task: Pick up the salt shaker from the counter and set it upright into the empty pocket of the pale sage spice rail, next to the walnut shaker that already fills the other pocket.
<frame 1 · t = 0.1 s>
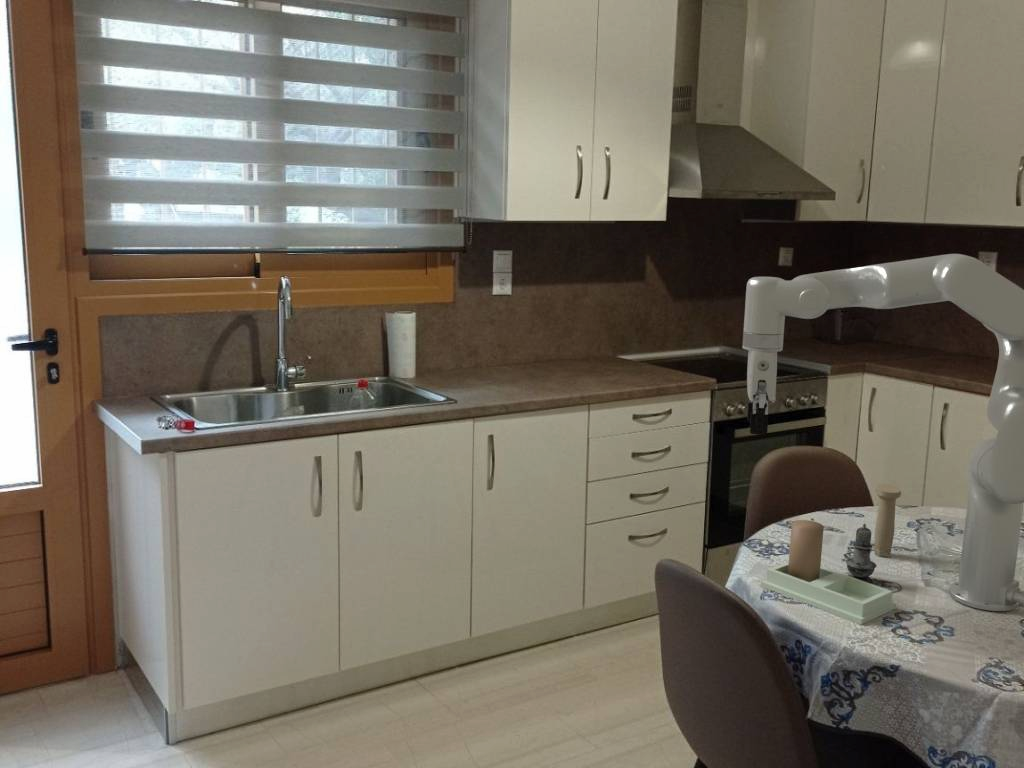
hand: (756, 428, 195), 31 cm above the table, tool pointing down, fingers open, 9 cm apart
salt shaker: (859, 581, 201), on the table
handle: (882, 555, 215), on the table
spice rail: (826, 597, 192), on the table
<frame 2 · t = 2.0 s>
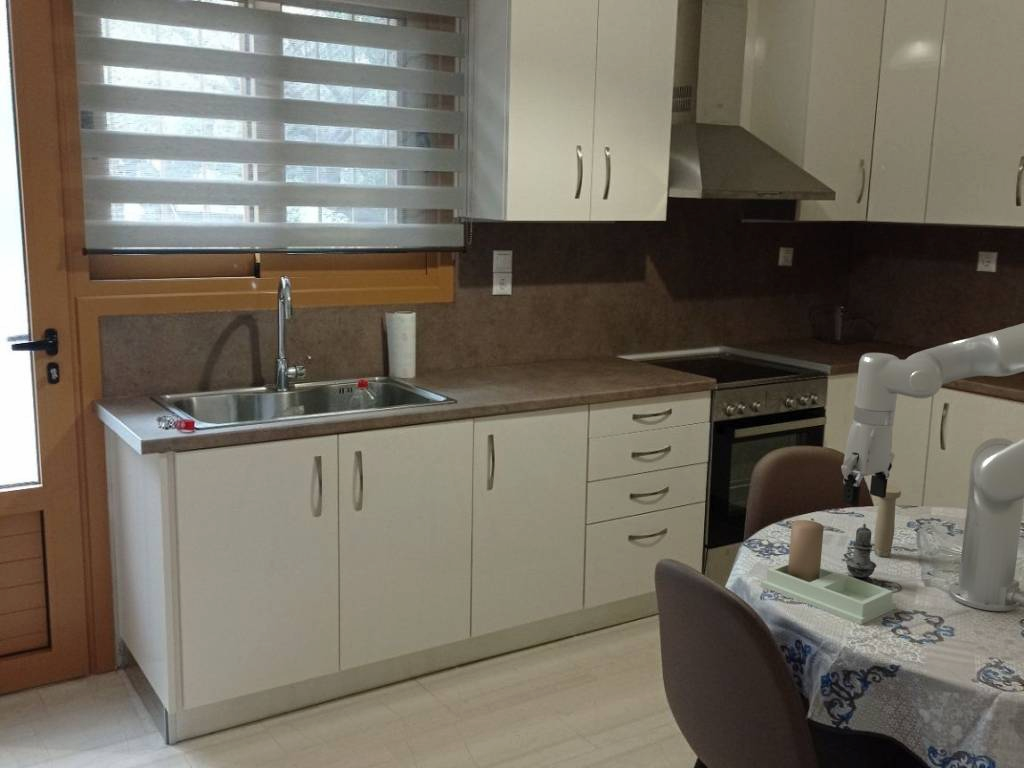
hand: (864, 500, 198), 17 cm above the table, tool pointing down, fingers open, 9 cm apart
nothing on the table moved.
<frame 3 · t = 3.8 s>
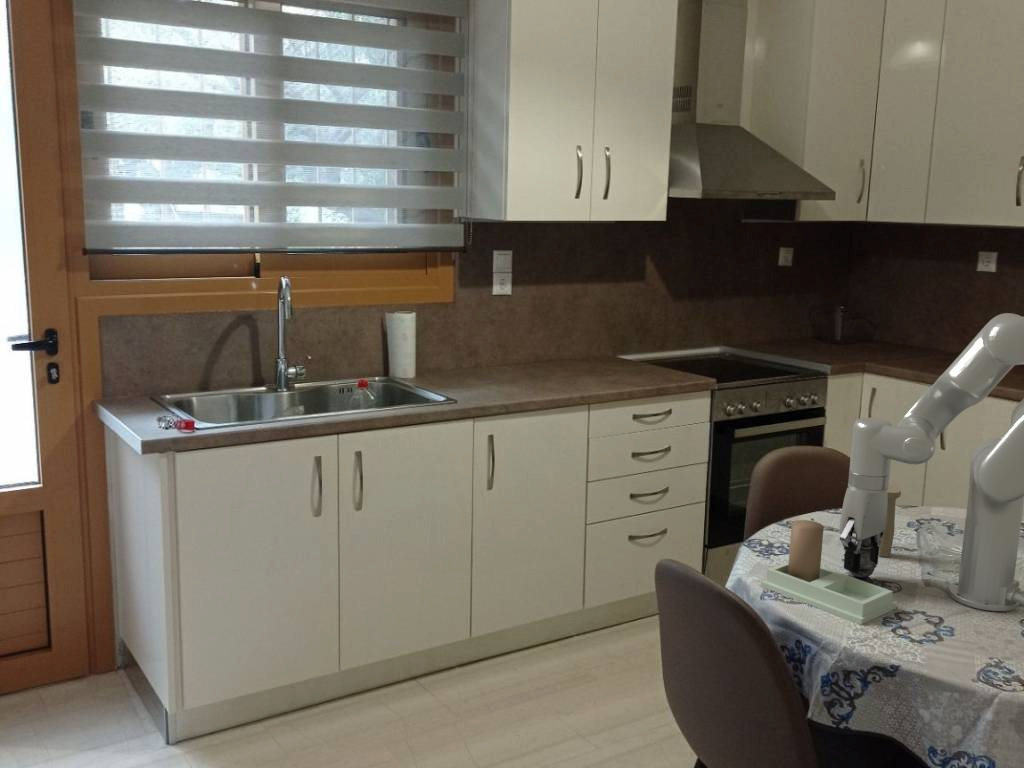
hand: (860, 566, 200), 3 cm above the table, tool pointing down, fingers closed on salt shaker, 5 cm apart
salt shaker: (859, 581, 201), on the table, touching gripper
everything else where it was.
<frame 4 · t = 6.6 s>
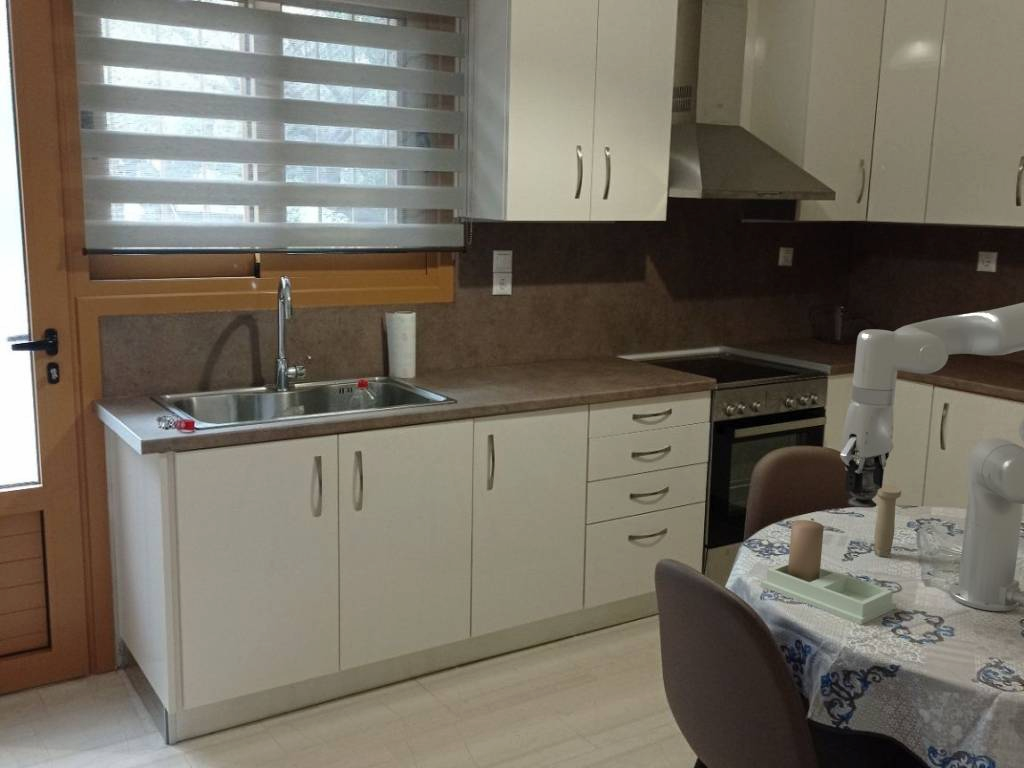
hand: (863, 488, 189), 22 cm above the table, tool pointing down, fingers closed on salt shaker, 5 cm apart
salt shaker: (861, 504, 189), point 18 cm above the table, touching gripper
everything else where it was.
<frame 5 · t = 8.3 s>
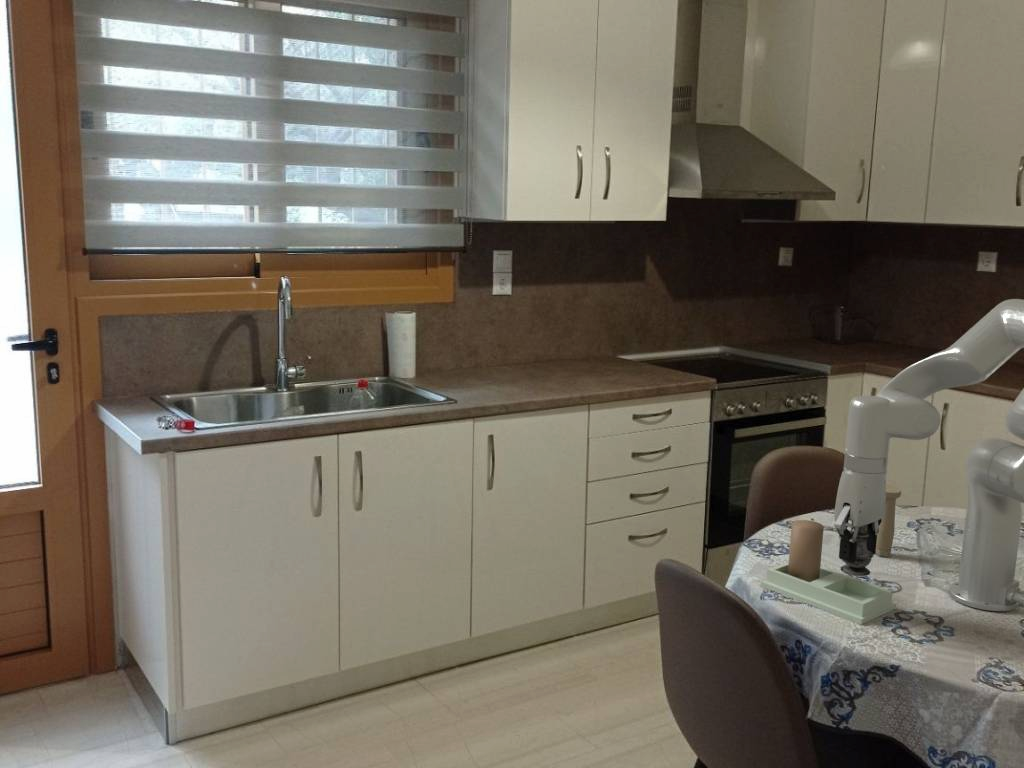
hand: (857, 555, 186), 10 cm above the table, tool pointing down, fingers closed on salt shaker, 5 cm apart
salt shaker: (855, 571, 187), point 7 cm above the table, touching gripper
everything else where it was.
when the fingers open (5 cm above the table, at t = 9.7 s): salt shaker drops 1 cm, resting on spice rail.
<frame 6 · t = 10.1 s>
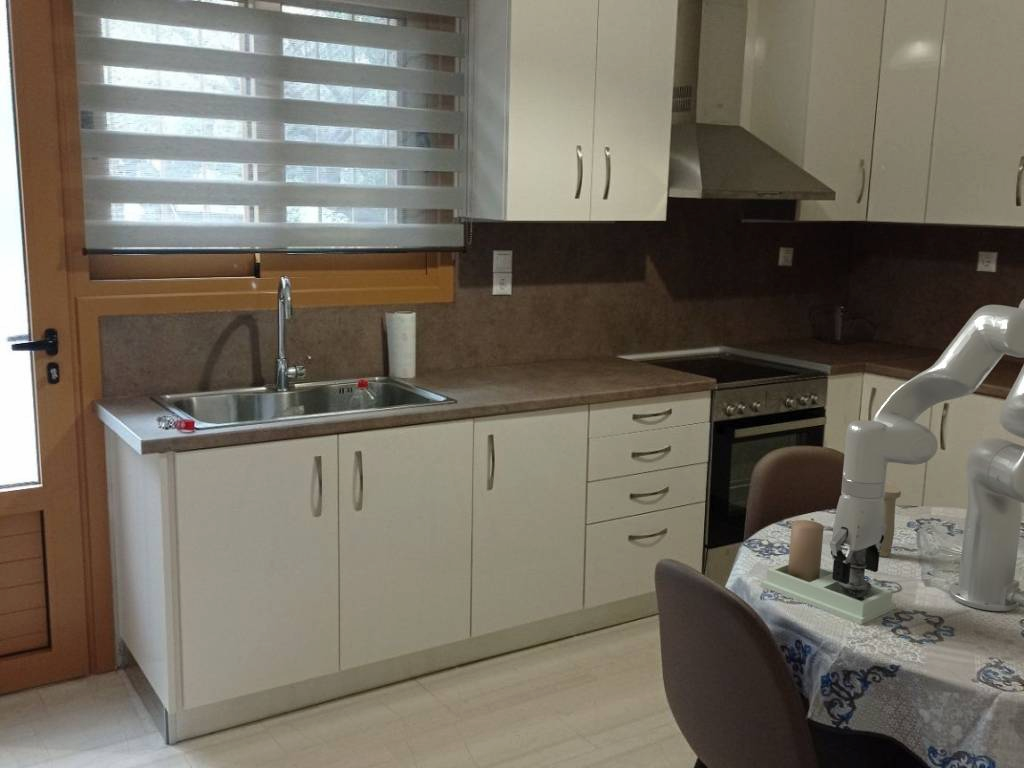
hand: (855, 575, 187), 6 cm above the table, tool pointing down, fingers open, 9 cm apart
salt shaker: (853, 602, 188), point 1 cm above the table, touching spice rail
everything else where it was.
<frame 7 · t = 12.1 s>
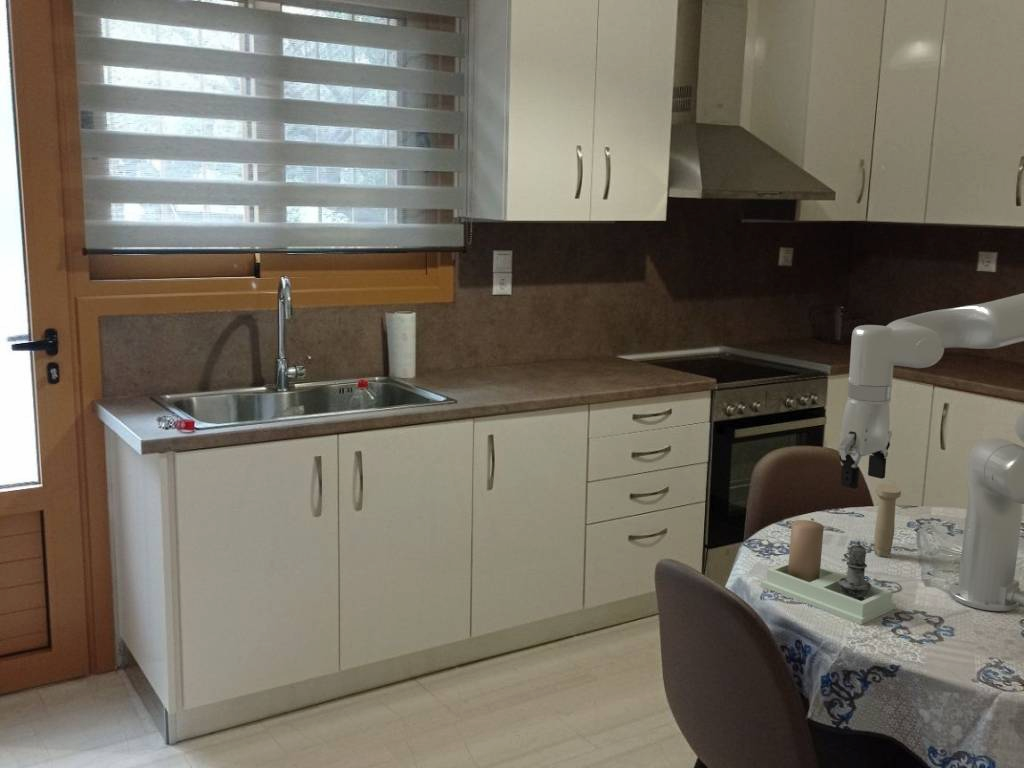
hand: (863, 481, 187), 23 cm above the table, tool pointing down, fingers open, 9 cm apart
nothing on the table moved.
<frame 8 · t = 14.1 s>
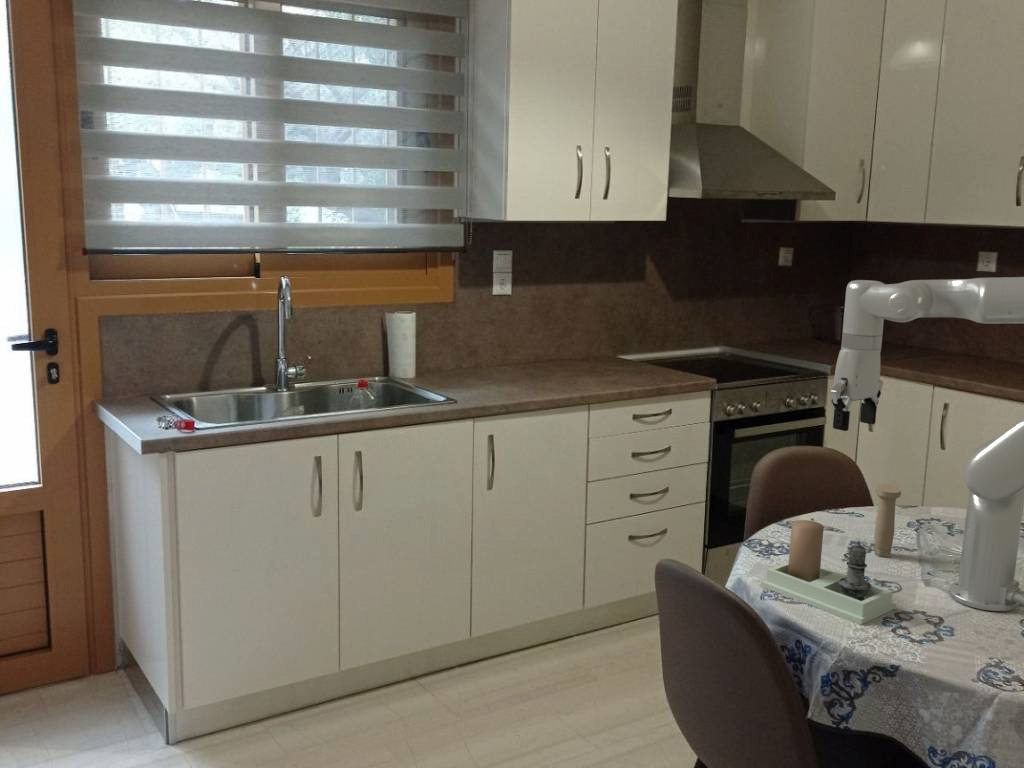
hand: (854, 426, 201), 30 cm above the table, tool pointing down, fingers open, 9 cm apart
nothing on the table moved.
at the end: salt shaker 0.2 cm from the target spot on the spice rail, point 0.8 cm above the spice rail's base; salt shaker tilted 0°; the gripper is holding nothing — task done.
